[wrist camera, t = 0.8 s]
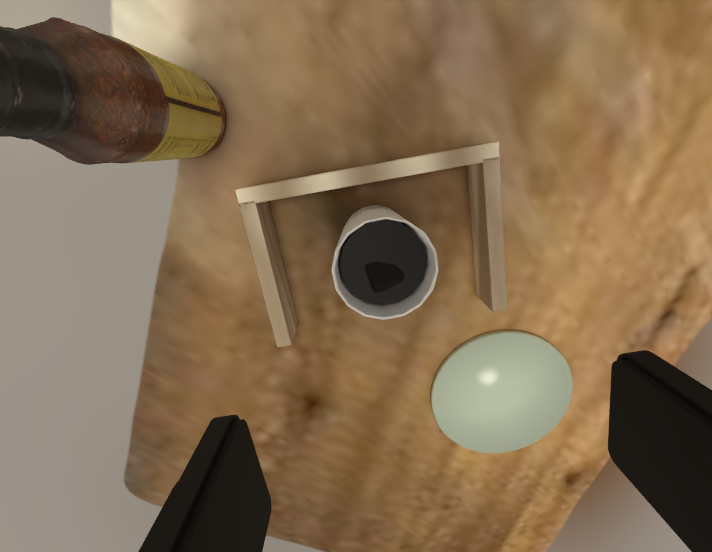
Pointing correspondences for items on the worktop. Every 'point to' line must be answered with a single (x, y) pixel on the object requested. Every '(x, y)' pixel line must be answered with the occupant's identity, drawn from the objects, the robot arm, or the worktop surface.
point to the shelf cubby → (479, 171)
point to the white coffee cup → (383, 264)
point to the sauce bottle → (102, 97)
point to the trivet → (501, 391)
